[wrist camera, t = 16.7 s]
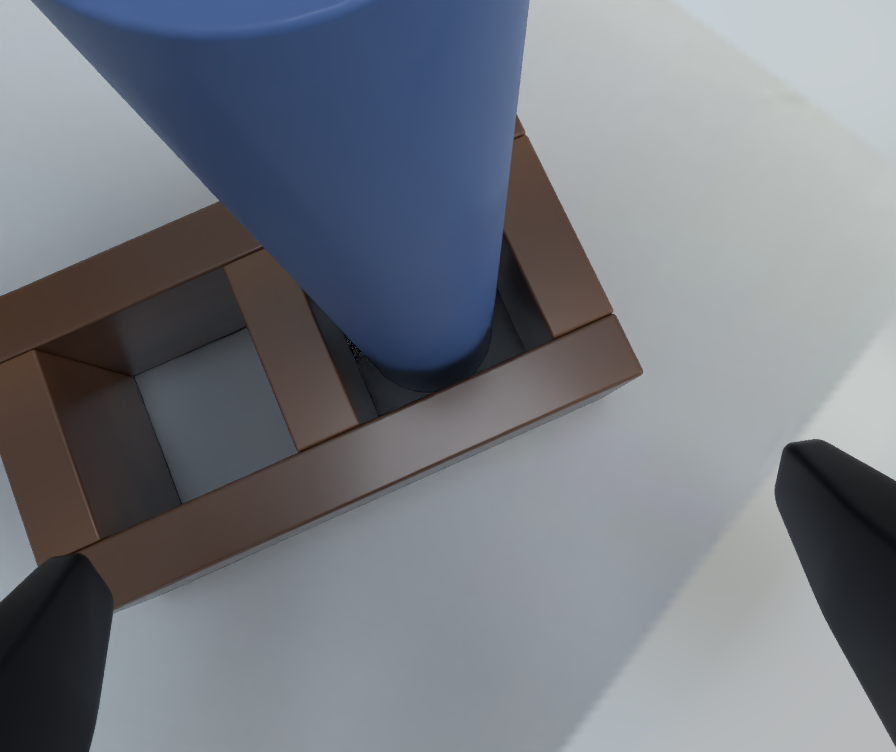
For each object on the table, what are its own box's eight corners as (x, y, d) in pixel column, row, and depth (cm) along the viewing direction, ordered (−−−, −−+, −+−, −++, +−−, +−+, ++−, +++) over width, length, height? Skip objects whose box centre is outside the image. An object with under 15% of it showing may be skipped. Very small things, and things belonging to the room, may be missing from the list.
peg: (424, 418, 17) (188, 173, 3) (339, 326, 17) (-209, -260, 3) (517, 331, 17) (700, -269, 3) (431, 242, 18) (265, -628, 4)
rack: (605, 396, 17) (645, 372, 13) (158, 595, 17) (59, 634, 13) (494, 165, 18) (499, 77, 14) (70, 351, 17) (-48, 315, 14)
